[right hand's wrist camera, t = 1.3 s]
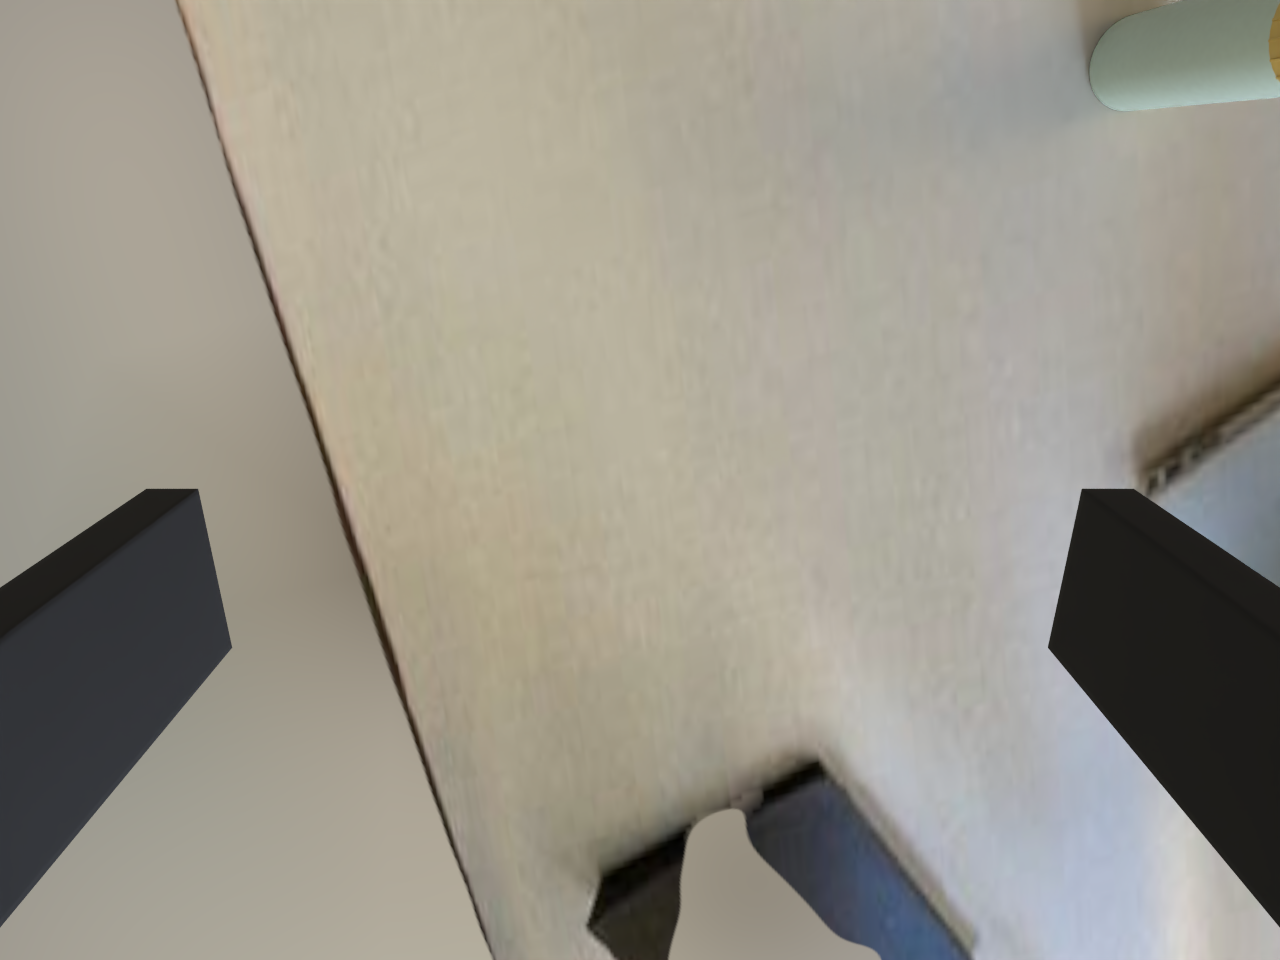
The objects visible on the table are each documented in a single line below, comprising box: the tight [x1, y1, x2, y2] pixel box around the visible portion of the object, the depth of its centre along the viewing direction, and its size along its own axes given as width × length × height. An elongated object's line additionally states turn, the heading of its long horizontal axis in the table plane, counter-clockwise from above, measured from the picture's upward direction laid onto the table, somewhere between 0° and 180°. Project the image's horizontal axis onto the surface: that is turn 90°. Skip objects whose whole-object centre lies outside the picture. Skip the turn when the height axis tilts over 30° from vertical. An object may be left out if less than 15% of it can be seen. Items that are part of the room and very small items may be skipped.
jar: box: [1089, 0, 1280, 111], centre depth 39 cm, size 5×5×17 cm
